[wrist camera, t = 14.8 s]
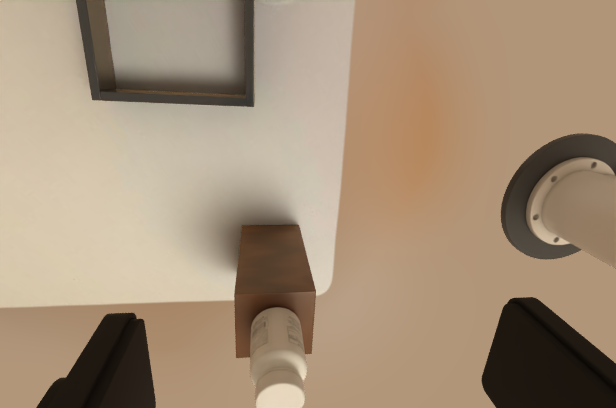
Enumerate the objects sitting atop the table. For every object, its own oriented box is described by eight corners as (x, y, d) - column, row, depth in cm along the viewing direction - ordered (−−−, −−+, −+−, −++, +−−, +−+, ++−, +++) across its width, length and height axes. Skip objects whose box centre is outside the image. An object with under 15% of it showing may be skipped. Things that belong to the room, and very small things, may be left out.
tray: (254, -61, 32) (253, -77, 28) (254, 103, 37) (253, 106, 34) (83, -79, 30) (59, -100, 26) (109, 96, 35) (91, 100, 32)
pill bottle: (251, 346, 32) (248, 427, 24) (250, 306, 30) (248, 380, 23) (299, 343, 32) (310, 422, 25) (301, 304, 31) (313, 376, 23)
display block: (299, 224, 43) (316, 291, 30) (296, 273, 46) (311, 353, 33) (241, 225, 42) (234, 294, 29) (242, 274, 45) (236, 358, 32)
